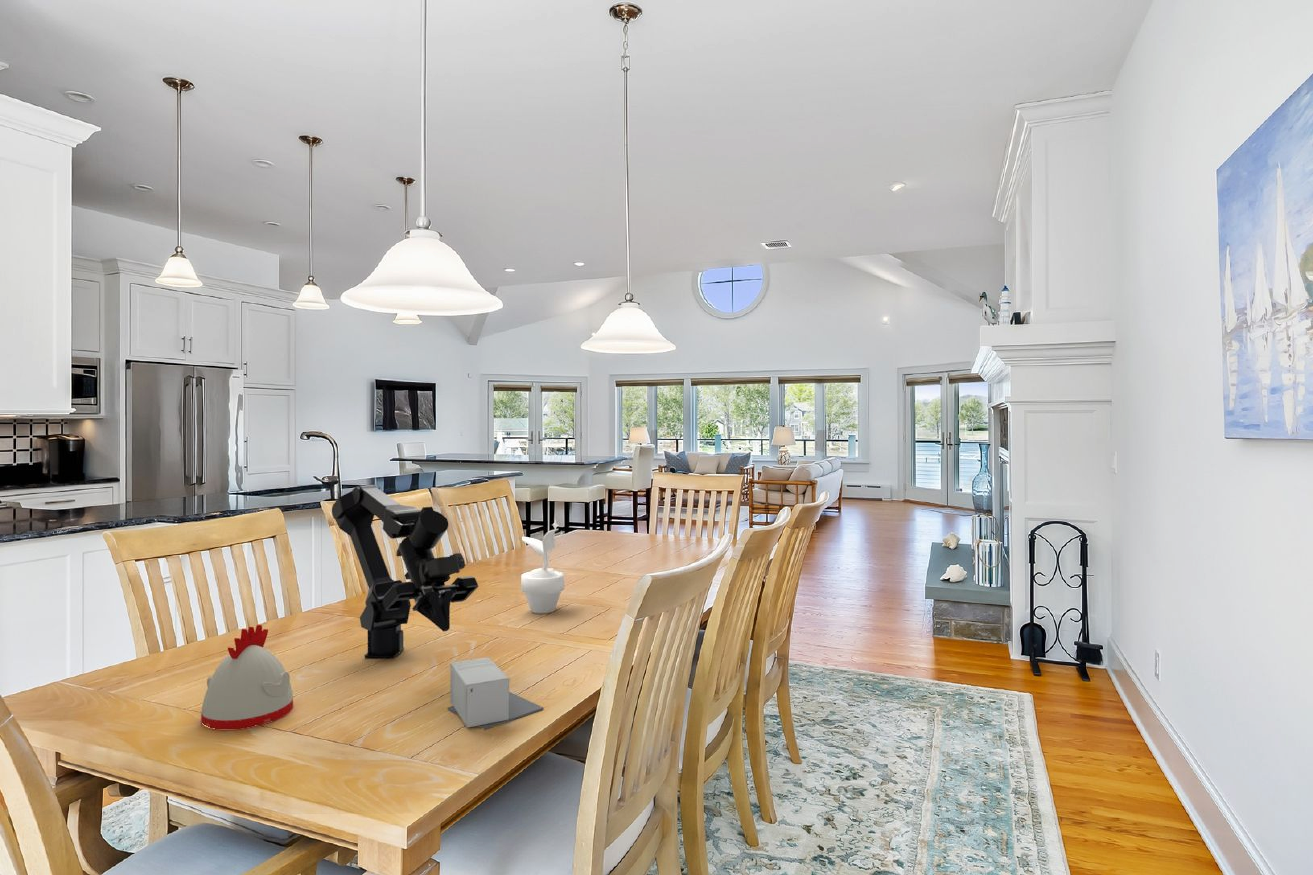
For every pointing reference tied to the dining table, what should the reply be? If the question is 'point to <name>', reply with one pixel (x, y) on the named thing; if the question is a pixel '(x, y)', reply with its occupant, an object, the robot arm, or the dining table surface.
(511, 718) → the mat
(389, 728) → the dining table surface
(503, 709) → the supplement box
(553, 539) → the potted plant
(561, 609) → the dining table surface
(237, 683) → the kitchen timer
